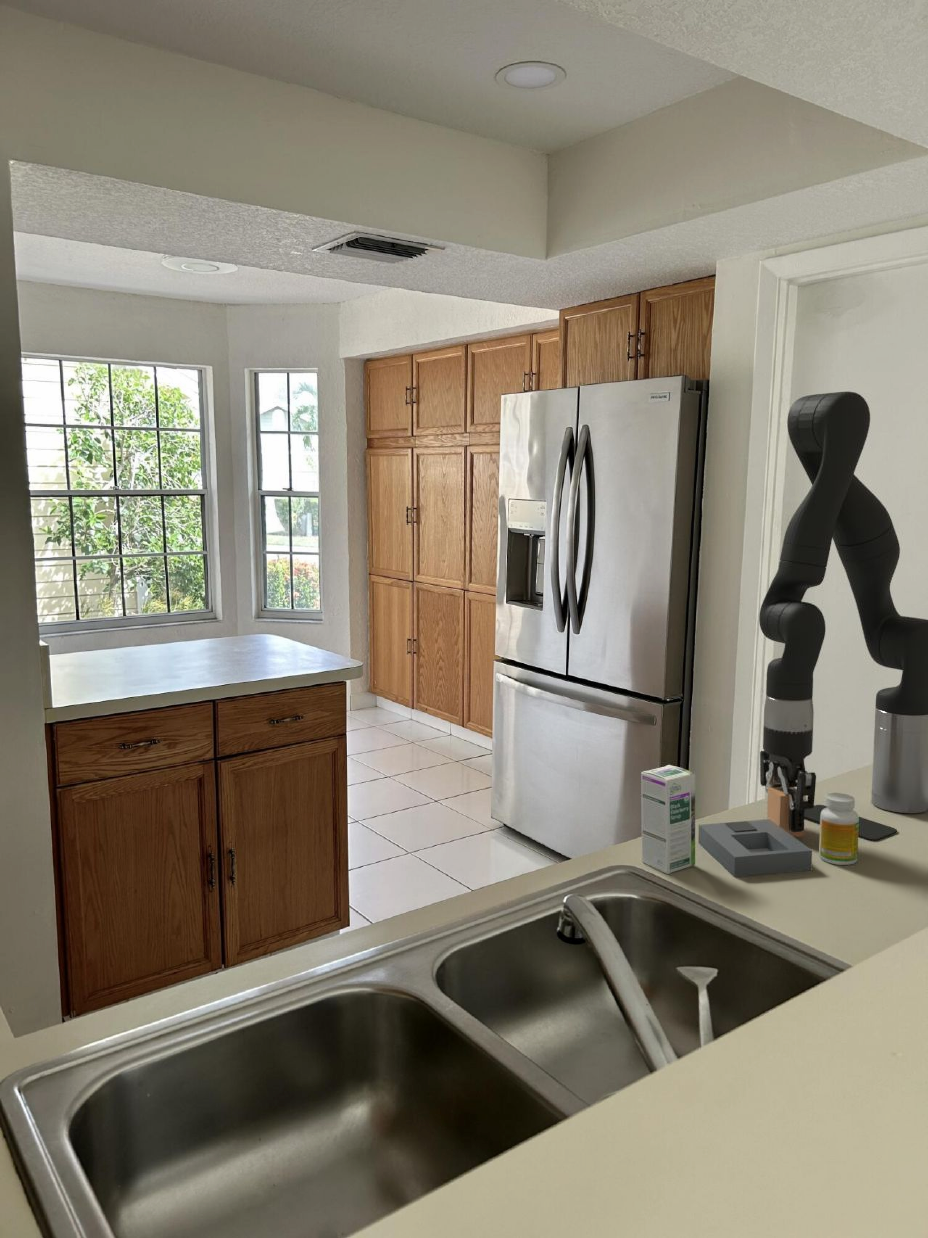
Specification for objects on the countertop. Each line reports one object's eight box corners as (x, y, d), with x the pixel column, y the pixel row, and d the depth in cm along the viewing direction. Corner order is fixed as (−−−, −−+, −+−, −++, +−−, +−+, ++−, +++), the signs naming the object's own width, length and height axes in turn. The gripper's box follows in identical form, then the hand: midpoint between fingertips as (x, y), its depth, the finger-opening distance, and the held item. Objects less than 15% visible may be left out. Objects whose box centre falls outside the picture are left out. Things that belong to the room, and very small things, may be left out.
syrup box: (667, 875, 133) (669, 780, 131) (639, 861, 138) (640, 769, 136) (695, 866, 136) (697, 772, 134) (667, 853, 141) (668, 762, 139)
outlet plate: (769, 837, 147) (769, 818, 146) (811, 870, 134) (812, 849, 134) (698, 842, 145) (698, 823, 145) (734, 876, 132) (734, 855, 132)
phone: (873, 840, 144) (792, 812, 156) (873, 845, 144) (792, 817, 156) (900, 829, 148) (819, 803, 160) (900, 834, 148) (819, 808, 160)
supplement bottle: (860, 867, 135) (863, 804, 133) (822, 865, 136) (824, 802, 134) (853, 852, 140) (855, 792, 139) (816, 850, 141) (818, 790, 140)
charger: (790, 826, 151) (791, 785, 150) (803, 836, 147) (805, 793, 146) (766, 828, 151) (767, 787, 150) (779, 838, 146) (780, 795, 145)
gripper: (834, 734, 140) (830, 837, 142) (787, 711, 154) (784, 806, 156) (788, 737, 139) (785, 841, 141) (745, 714, 153) (743, 809, 155)
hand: (784, 822), depth 149 cm, fingers open, 6 cm apart
